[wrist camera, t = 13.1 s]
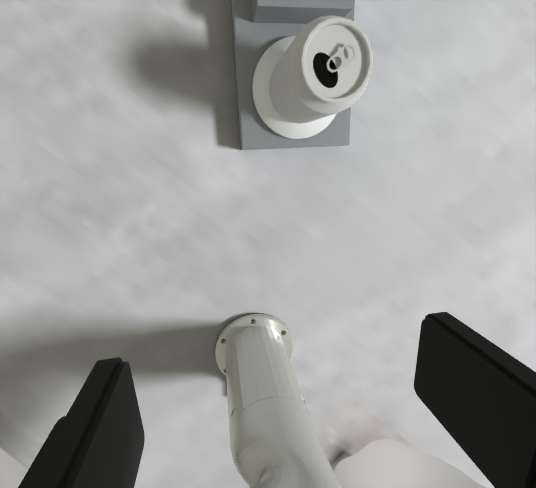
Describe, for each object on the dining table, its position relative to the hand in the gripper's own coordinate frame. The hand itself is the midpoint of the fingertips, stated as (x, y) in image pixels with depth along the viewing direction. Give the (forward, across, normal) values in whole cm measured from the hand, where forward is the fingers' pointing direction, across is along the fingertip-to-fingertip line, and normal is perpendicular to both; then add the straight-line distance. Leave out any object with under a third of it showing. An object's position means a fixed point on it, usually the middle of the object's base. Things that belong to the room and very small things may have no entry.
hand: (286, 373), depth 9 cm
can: (+31, -9, -13) cm, 34 cm away
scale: (+34, -9, -16) cm, 39 cm away
